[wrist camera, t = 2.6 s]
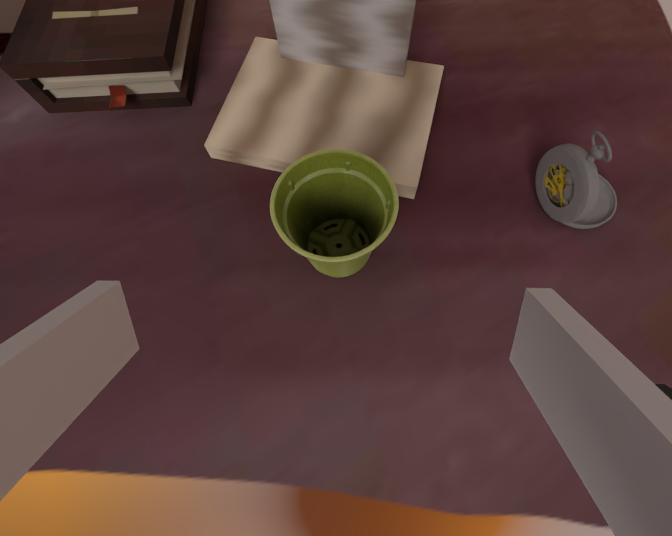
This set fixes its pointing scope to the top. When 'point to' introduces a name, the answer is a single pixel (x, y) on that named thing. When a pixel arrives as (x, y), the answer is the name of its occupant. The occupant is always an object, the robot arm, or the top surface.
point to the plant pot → (334, 208)
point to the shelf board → (332, 90)
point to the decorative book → (106, 53)
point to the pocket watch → (575, 185)
